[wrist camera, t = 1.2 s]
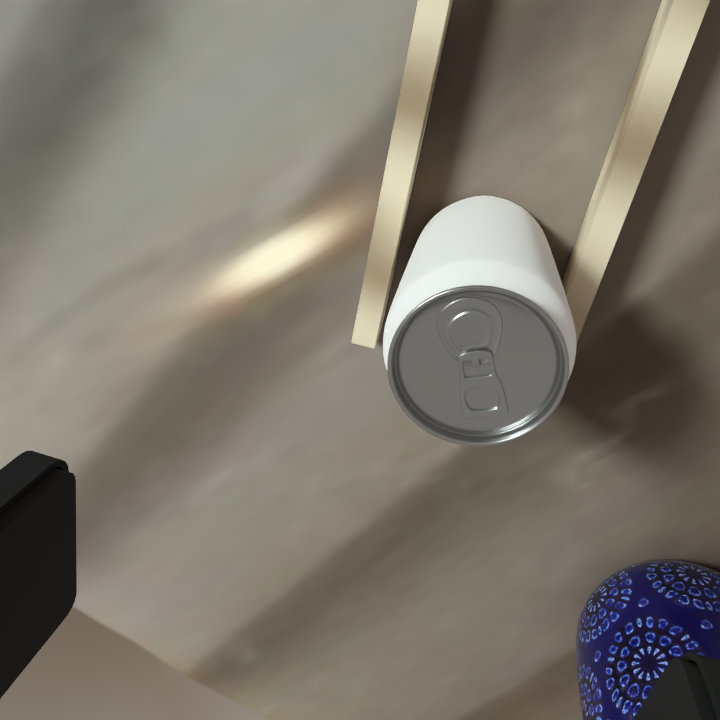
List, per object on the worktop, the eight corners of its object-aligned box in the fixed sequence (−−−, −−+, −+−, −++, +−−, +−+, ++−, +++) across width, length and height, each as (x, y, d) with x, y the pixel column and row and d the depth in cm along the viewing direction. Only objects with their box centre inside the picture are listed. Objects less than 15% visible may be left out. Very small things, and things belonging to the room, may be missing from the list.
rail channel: (480, -285, 21) (478, -377, 17) (785, -238, 20) (867, -321, 16) (359, 327, 32) (338, 369, 28) (552, 375, 32) (563, 426, 27)
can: (540, 180, 28) (573, 253, 17) (556, 311, 30) (594, 447, 19) (401, 209, 29) (352, 292, 19) (427, 331, 32) (397, 466, 21)
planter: (581, 522, 35) (618, 701, 25) (789, 548, 33) (917, 752, 23) (553, 652, 40) (575, 845, 30) (734, 681, 38) (820, 897, 28)
